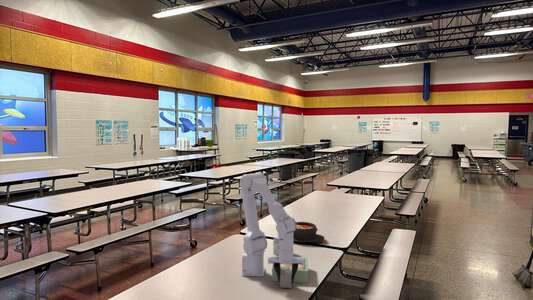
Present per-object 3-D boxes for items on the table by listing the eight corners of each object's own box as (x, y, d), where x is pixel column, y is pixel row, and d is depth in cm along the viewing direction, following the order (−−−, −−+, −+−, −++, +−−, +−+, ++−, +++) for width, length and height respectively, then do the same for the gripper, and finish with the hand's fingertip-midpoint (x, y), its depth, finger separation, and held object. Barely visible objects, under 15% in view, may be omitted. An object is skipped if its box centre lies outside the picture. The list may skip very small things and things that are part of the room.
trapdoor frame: (272, 280, 136) (272, 267, 135) (274, 266, 150) (274, 254, 149) (308, 282, 134) (308, 269, 134) (307, 268, 148) (307, 256, 148)
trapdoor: (275, 273, 137) (275, 267, 137) (277, 263, 148) (277, 257, 148) (304, 275, 136) (304, 269, 135) (304, 264, 146) (304, 258, 146)
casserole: (328, 237, 190) (328, 223, 189) (318, 248, 173) (319, 232, 173) (288, 232, 201) (288, 218, 200) (276, 241, 184) (276, 226, 184)
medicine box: (282, 249, 171) (282, 233, 170) (289, 252, 168) (289, 235, 167) (273, 254, 165) (273, 237, 164) (280, 256, 162) (280, 239, 161)
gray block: (279, 287, 129) (280, 274, 128) (280, 281, 133) (280, 270, 133) (291, 287, 128) (291, 275, 128) (291, 282, 133) (291, 270, 132)
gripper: (267, 251, 126) (266, 285, 127) (304, 252, 125) (304, 287, 126) (268, 244, 133) (268, 276, 134) (304, 246, 132) (304, 278, 133)
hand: (285, 281), depth 130 cm, fingers closed on gray block, 4 cm apart
